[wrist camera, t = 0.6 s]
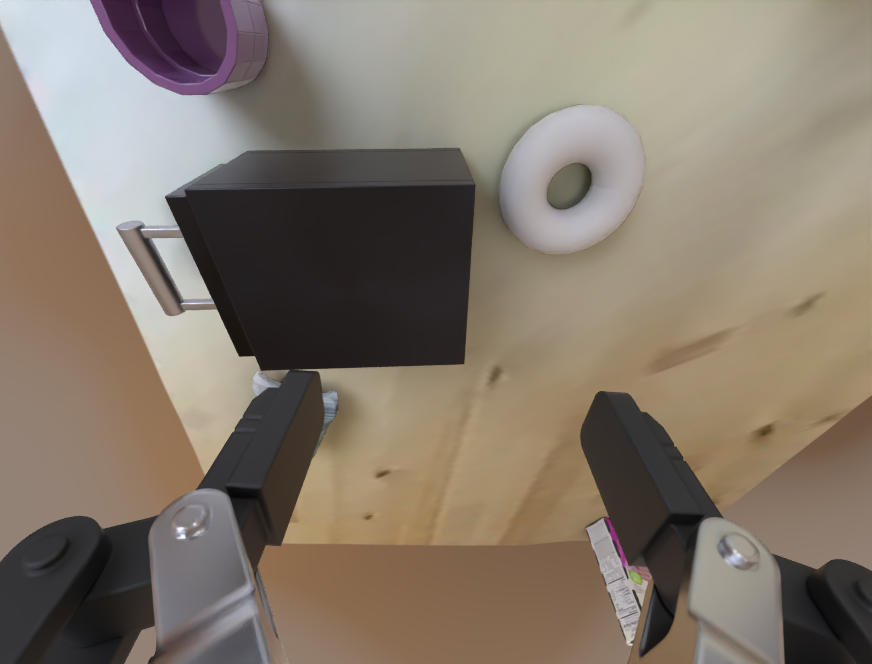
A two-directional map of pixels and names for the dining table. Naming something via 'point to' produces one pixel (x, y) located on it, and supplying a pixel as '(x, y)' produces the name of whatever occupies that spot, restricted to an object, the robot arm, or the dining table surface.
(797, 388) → the dining table surface
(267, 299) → the cabinet
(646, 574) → the candy bar box
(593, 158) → the donut
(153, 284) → the drawer
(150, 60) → the cup
